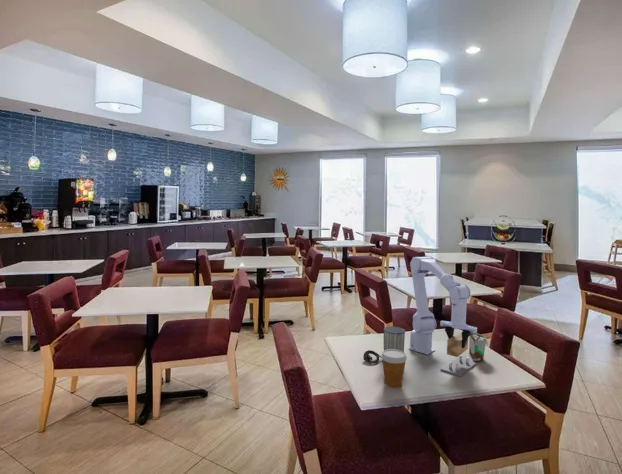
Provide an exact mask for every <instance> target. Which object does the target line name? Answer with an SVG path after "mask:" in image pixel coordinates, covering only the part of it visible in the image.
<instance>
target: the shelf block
mask: <svg viewBox="0 0 622 474" xmlns="http://www.w3.org/2000/svg"><path fill="white" fill-rule="evenodd" d="M446 341H447V342H446V343H447V344H446V355H448V356H453V357H456V358H459V356H460V355H462V354H463V353H465V352H466V351H467V350H468V349H469V347H468V345H469V338H468V339H467V342H466V345H465V348H462V333H459V332H457V333H456V334H454V335H453V337H451V338H450V339H447V340H446Z"/></svg>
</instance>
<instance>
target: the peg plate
mask: <svg viewBox="0 0 622 474" xmlns="http://www.w3.org/2000/svg"><path fill="white" fill-rule="evenodd" d="M477 363H478V362H473V360H470V358H469V356H465V358H463V355H462V354H461V355H460V356H458V357H456V358H455V359H454V360H452V361H449V362H448V363H447V364H445V366H443V367H441V368H440V371H441V372H443V373H446V374H451V375H453V376H456V377H458V378H459V377H461V376H463V375H464V374H466V373H467V372H468V371H469V370H471V369H472V368H474V367H475V366H476V365H477Z"/></svg>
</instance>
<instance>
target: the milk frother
mask: <svg viewBox="0 0 622 474" xmlns="http://www.w3.org/2000/svg"><path fill="white" fill-rule="evenodd" d="M405 336H406V329H405V328H402V327H400V326H389V325H388V326H385V327H384V328H383V351H384V350H387V349H396V350H400V351H403V352H405ZM371 355H373V356H375V357H376V359H374V360H372V359H373V357H372V356H371ZM380 359H382V357H381V355H380V354H379V353H377V352H375V351H374V350H372V349H371V350H370V349H369V350H366V351H364V353H363V360H364V361H365V362H367V363H369V364H378V363H379V361H380Z"/></svg>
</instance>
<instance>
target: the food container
mask: <svg viewBox="0 0 622 474" xmlns="http://www.w3.org/2000/svg"><path fill="white" fill-rule="evenodd" d="M487 344H488V340H487V337H486V336H485V335H483V334H480V333H478V332H476V333H473V332H471V334H470V335H469V341H468V345H469V347H468V349H469V351H468V352H469V353H468V355H469V356H470V358H471V361H472V362H476V363H481V362H483V361H484V358H485V351H486V350H485V349H486V345H487Z"/></svg>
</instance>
